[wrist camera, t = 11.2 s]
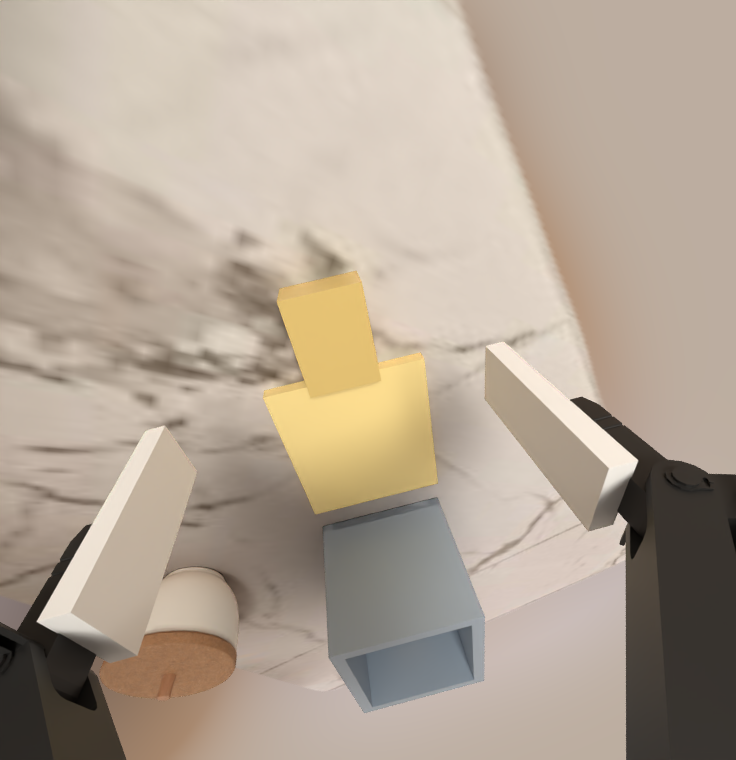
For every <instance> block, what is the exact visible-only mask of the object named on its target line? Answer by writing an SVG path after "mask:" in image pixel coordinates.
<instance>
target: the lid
mask: <svg viewBox="0 0 736 760" xmlns="http://www.w3.org/2000/svg"><path fill="white" fill-rule="evenodd" d="M277 304H278V307H279V310H280V312H281V315H282V318H283V321H284V324H285V327H286V329H287V332H288V335H289V338H290V341H291V344H292V347H293V349H294V352H295V355H296V358H297V361H298V364H299V366H300V369H301V372H302V375H303V378H304V381H302V382H298V383H293V384H289V385H285V386H281V387H277V388H273V389H269V390H265V391H264V395H263V399H264V401H265V403H266V406H267V408H268V410H269V412H270V415H271V417H272V419H273V421H274V424H275V426H276V428H277V430H278V432H279V435H280V437H281V439H282V441H283V444H284V446H285V448H286V450H287V453H288V455H289V457H290V459H291V461H292V464H293V466H294V468H295V470H296V473H297V475H298V477H299V479H300V482H301V484H302V486H303V488H304V490H305V493H306V495H307V497H308V499H309V502H310V504H311V506H312V508H313V511H314V513H315V514H319V513H323V512H327V511H331V510H335V509H339V508H343V507H347V506H351V505H355V504H359V503H363V502H367V501H371V500H375V499H379V498H382V497H386V496H390V495H394V494H398V493H402V492H406V491H410V490H414V489H418V488H422V487H426V486H430V485H434V484H438V480H437V471H436V462H435V453H434V444H433V435H432V426H431V417H430V408H429V399H428V389H427V380H426V371H425V362H424V358H423V356H422V354H421V353H417V354H412V355H408V356H404V357H400V358H396V359H392V360H388V361H384V362H380V363H378V362H377V357H376V352H375V347H374V342H373V336H372V331H371V326H370V321H369V316H368V311H367V306H366V301H365V296H364V291H363V286H362V282H361V280H360V277H359V275H358V273H357V271H353V272H349V273H345V274H340V275H336V276H332V277H328V278H323V279H319V280H315V281H310V282H306V283H302V284H298V285H293V286H289V287H285V288H281V289H280V290H279V294H278V299H277Z"/></svg>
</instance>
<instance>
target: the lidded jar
mask: <svg viewBox="0 0 736 760" xmlns="http://www.w3.org/2000/svg"><path fill="white" fill-rule="evenodd" d="M238 633H239V612H238V605H237V601H236V598H235V595H234V593H233V591H232V590H231V588H230V587H229V585H228V584H227V583H226V582H225V579H224V577H223V576H222V575H221V574H220V573H218V572H217V571H215V570H212V569H209V568H204V567H186V568H181V569H178V570H175V571H173V572H171V573H169V574H168V575H167V576H166V577H165V578H164V579H162V582H161V585H160V588H159V591H158V594H157V598H156V601H155V604H154V607H153V610H152V613H151V616H150V619H149V622H148V625H147V628H146V631H145V634H144V637H143V640H142V643H141V646H140V649H139V653H138V656H134V657H131V658H127V659H123V660H120V661H116V662H112V663H108V662H106V661H105V660H104V662H103V664H102V667H101V669H100V679H101V681H102V683H103V684H104V685H105V686H106V687H108V688H109V689H111V690H113V691H115V692H117V693H121V694H124V695H128V696H133V697H141V698H157V700H159V701H165V700H168V699H170V698H174V697H181V696H187V695H192V694H196V693H199V692H203V691H206V690H208V689H211V688H213V687H215V686H217V685H219V684H221V683H223V682H224V681H226V680H227V679H228V678H229V677H230V676H231V674H232V673H233V671H234V669H235V665H236V657H237V654H236V649H237V643H238Z"/></svg>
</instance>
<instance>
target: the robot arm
mask: <svg viewBox="0 0 736 760" xmlns="http://www.w3.org/2000/svg"><path fill="white" fill-rule="evenodd" d="M485 400H486V401H487V402H488V404H489V405H490V406H491V408H492V409H493V410H494V411H495V413H496V414H497V415H498V417H499V418H500V419H501V420H502V422H503V423H504V424H505V425H506V427H507V428H508V429H509V431H510V432H511V433H512V434H513V436H514V437H515V438H516V440H517V441H518V442H519V443H520V445H521V446H522V447H523V449H524V450H525V451H526V452H527V454H528V455H529V456H530V457H531V459H532V460H533V461H534V463H535V464H536V465H537V466H538V468H539V469H540V470H541V472H542V473H543V474H544V475H545V477H546V478H547V479H548V481H549V482H550V483H551V484H552V486H553V487H554V488H555V489H556V491H557V492H558V493H559V495H560V496H561V497H562V498H563V500H564V501H565V502H566V504H567V505H568V506H569V507H570V509H571V510H572V511H573V513H574V514H575V515H576V516H577V518H578V519H579V520H580V521H581V523H582V524H583V525H584V527H585V528H586V529H587V530H588V531H592V530H595V529H599V528H603V527H606V526H610V525H613V524H614V521H615V518H616V516H617V513H619V514H620V515H621V516H622V517H623V518H624V519H625V520H626V521H627V522H628V524H627V526H626V528H625V531H624V533H623V535H622V537H621V540H620V545H623V546H624V545H625V542H626V760H736V475H731V474H708V473H707V472H705V471H704V470H702V469H700V468H698V467H696V466H694V465H691V464H688V463H685V462H682V461H674V460H667V459H666V458H664V457H663V456H662V455H660V454H659V453H658V452H657V451H655V450H654V449H653V448H652V447H651V446H649V445H648V444H647V443H646V442H645V441H643V440H642V439H641V438H639V437H638V436H637V435H636V434H634V433H633V432H632V431H631V430H630V429H628V428H627V427H626V426H623V425H622V423H621V422H620V421H619V420H617V419H616V418H615V417H612V416H611V414H610V413H609V412H608V411H606V410H605V409H604V408H603V407H601V406H600V405H599V404H597V403H595V402H592V401H590V400H588V399H586V398H583V397H579V398H575V399H571V400H569V399H568V398H567V397H566V396H565V395H564V394H562V393H561V392H560V391H559V390H558V389H557V388H556V387H554V386H553V385H552V384H551V383H550V382H549V381H548V380H547V379H545V378H544V377H543V376H542V375H541V374H540V373H539V372H537V371H536V370H535V369H534V368H533V367H532V366H531V365H530V364H528V363H527V362H526V361H525V360H524V359H523V358H522V357H520V356H519V355H518V354H517V353H516V352H515V351H514V350H512V349H511V348H510V347H509V346H508V345H507V344H506V343H505V342H500V343H496V344H492V345H488V346H486V356H485ZM196 475H197V471H196V469H195V468H194V466H193V465H192V463H191V462H190V460H189V459H188V458H187V456H186V455H185V453H184V452H183V450H182V449H181V448H180V446H179V445H178V443H177V442H176V440H175V439H174V437H173V436H172V435H171V433H170V432H169V430H168V429H167V427H166V426H162V427H158V428H154V429H150V430H146V431H145V433H144V434H143V436H142V438H141V440H140V441H139V443H138V445H137V447H136V448H135V450H134V452H133V454H132V455H131V457H130V459H129V461H128V462H127V464H126V466H125V468H124V469H123V471H122V473H121V475H120V476H119V478H118V480H117V482H116V483H115V485H114V487H113V489H112V491H111V492H110V494H109V496H108V498H107V499H106V501H105V503H104V505H103V506H102V508H101V510H100V512H99V513H98V515H97V517H96V519H95V520H94V522H93V524H90V525H86V526H85V527H84V528H83V529H82V530H81V531H80V532H79V533H78V534H77V536H76V537H75V538H74V539H73V540H72V541H71V542H70V544H69V545H68V547H67V549H66V550H65V552H64V554H63V555H62V557H61V559H60V563H58V564H57V565H56V567H55V569H54V570H53V572H52V576H51V577H50V578H48V580H47V582H46V583H45V585H44V587H43V588H42V590H41V592H40V593H39V595H38V597H37V598H36V600H35V602H34V603H33V605H32V607H31V609H30V610H29V612H28V613H27V615H26V617H25V618H24V620H23V622H22V623H21V625H20V627H19V629H18V630H17V631H16V630H14V629H12V628H10V627H8V626H6V625H5V624H2V623H1V622H0V760H126V757H125V754H124V752H123V749H122V746H121V743H120V740H119V737H118V734H117V732H116V729H115V726H114V723H113V720H112V717H111V714H110V711H109V708H108V706H107V703H106V700H105V697H104V694H103V691H102V688H101V686H100V683H99V680H98V677H97V675H96V674H95V673H94V672H93V671H92V670H90V668H91V666H92V664H93V662H94V659H95V657H96V656H98V657H99V658H101V659H103V660H105V661H106V662H108V663H112V662H116V661H120V660H123V659H127V658H131V657H134V656H138V653H139V649H140V646H141V643H142V640H143V637H144V634H145V631H146V628H147V625H148V622H149V619H150V616H151V613H152V610H153V607H154V604H155V601H156V598H157V594H158V591H159V588H160V585H161V582H162V579H163V576H164V573H165V570H166V567H167V564H168V561H169V558H170V555H171V552H172V549H173V546H174V543H175V539H176V536H177V533H178V530H179V527H180V524H181V521H182V518H183V515H184V512H185V509H186V506H187V503H188V500H189V497H190V494H191V491H192V488H193V484H194V481H195V478H196Z"/></svg>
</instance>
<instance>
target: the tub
mask: <svg viewBox="0 0 736 760" xmlns="http://www.w3.org/2000/svg"><path fill="white" fill-rule="evenodd" d="M323 541H324V563H325V586H326V608H327V631H328V653H329V659H330V660H331V662H332V664H333V665H334V667H335V668H336V670H337V671H338V673H339V675H340V676H341V678H342V679H343V681H344V682H345V684H346V686H347V687H348V689H349V690H350V692H351V693H352V695H353V696H354V698H355V700H356V701H357V703H358V704H359V706H360V707H361V709H362V711H363V712H364V713H367V712H370V711H374V710H378V709H382V708H385V707H389V706H393V705H396V704H400V703H404V702H407V701H411V700H415V699H418V698H422V697H426V696H429V695H433V694H437V693H440V692H444V691H448V690H452V689H455V688H459V687H463V686H466V685H470V684H474V683H477V682H481V681H484V636H485V635H484V634H485V631H484V630H485V616H484V613H483V611H482V608H481V606H480V603H479V601H478V598H477V596H476V593H475V591H474V588H473V586H472V583H471V581H470V578H469V576H468V573H467V571H466V568H465V566H464V563H463V561H462V558H461V556H460V553H459V551H458V548H457V546H456V543H455V541H454V538H453V536H452V533H451V531H450V528H449V526H448V523H447V521H446V518H445V516H444V513H443V511H442V508H441V506H440V503H439V501H438V498H433V499H429V500H425V501H421V502H417V503H414V504H410V505H406V506H402V507H398V508H394V509H390V510H386V511H382V512H378V513H374V514H370V515H366V516H362V517H358V518H354V519H350V520H347V521H343V522H339V523H335V524H331V525H327V526H323Z"/></svg>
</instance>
